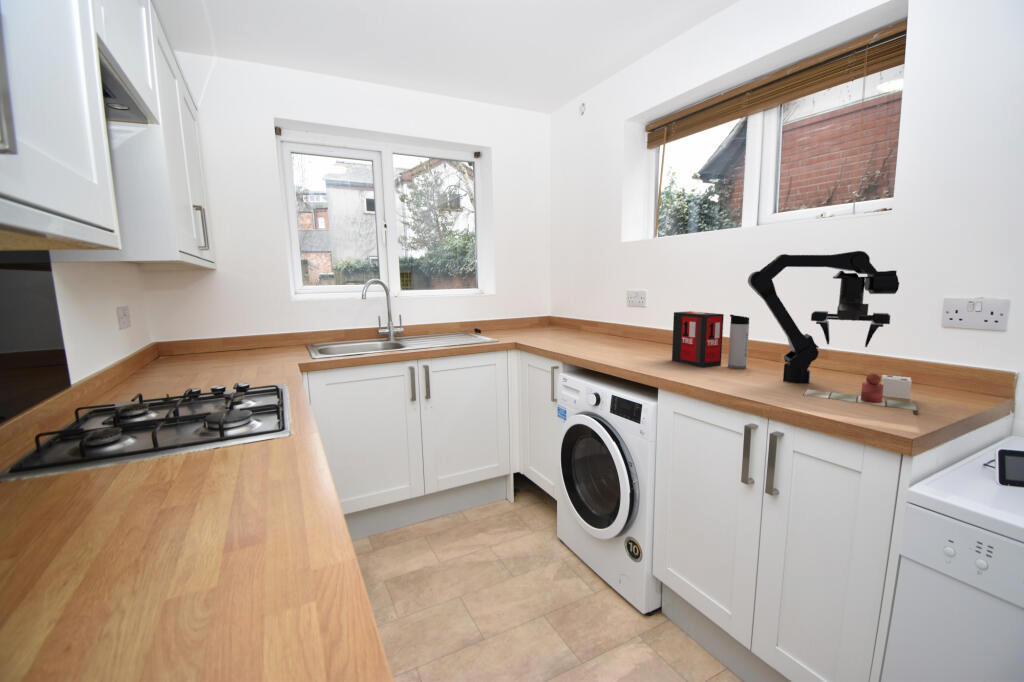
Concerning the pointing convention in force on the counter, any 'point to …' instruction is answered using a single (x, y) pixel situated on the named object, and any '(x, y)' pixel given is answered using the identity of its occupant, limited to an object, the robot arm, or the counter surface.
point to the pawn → (872, 389)
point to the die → (896, 386)
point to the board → (858, 400)
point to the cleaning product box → (697, 338)
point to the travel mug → (738, 342)
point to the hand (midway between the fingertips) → (846, 345)
